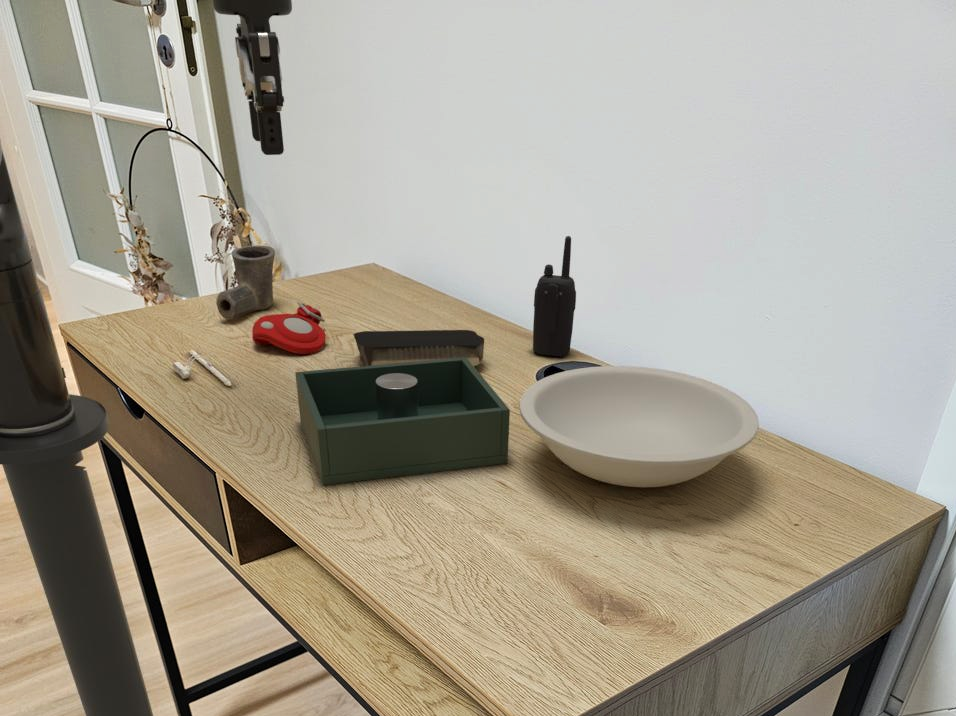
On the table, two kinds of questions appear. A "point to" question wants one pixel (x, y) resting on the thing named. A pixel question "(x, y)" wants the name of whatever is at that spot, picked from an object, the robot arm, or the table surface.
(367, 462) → the bin
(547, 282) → the two-way radio
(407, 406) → the metal cylinder
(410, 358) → the bristle scrub brush
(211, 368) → the picture light
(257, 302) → the pipe
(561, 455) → the soup bowl
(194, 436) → the table surface
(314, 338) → the tracker holder
